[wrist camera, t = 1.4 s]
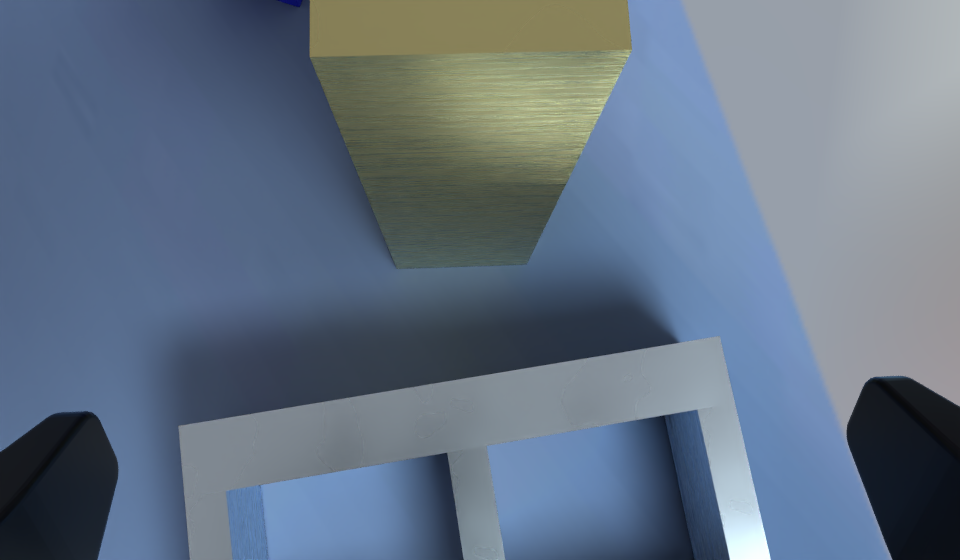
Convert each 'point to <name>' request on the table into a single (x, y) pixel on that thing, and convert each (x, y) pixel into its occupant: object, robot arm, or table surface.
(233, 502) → the metal frame
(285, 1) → the cable clip
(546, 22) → the brass peg
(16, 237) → the table surface
